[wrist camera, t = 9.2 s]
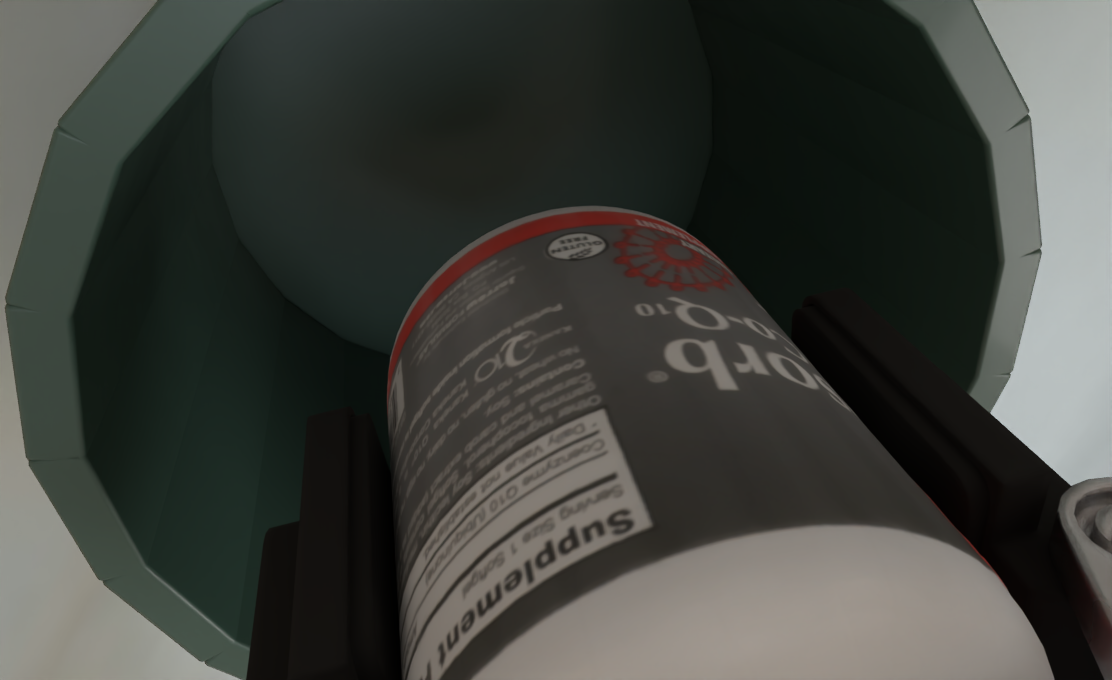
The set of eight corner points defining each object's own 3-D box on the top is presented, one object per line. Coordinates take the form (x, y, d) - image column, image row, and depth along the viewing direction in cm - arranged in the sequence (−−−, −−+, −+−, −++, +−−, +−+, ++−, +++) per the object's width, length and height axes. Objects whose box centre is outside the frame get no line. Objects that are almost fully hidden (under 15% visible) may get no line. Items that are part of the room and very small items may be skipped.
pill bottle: (803, 324, 13) (1514, 1091, 5) (577, 542, 15) (851, 1401, 7) (552, 107, 11) (1229, 1017, 2) (306, 402, 12) (209, 1572, 4)
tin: (801, -90, 20) (1236, -22, 10) (653, 386, 27) (830, 701, 17) (177, -244, 16) (-97, -380, 6) (189, 361, 23) (66, 755, 13)
